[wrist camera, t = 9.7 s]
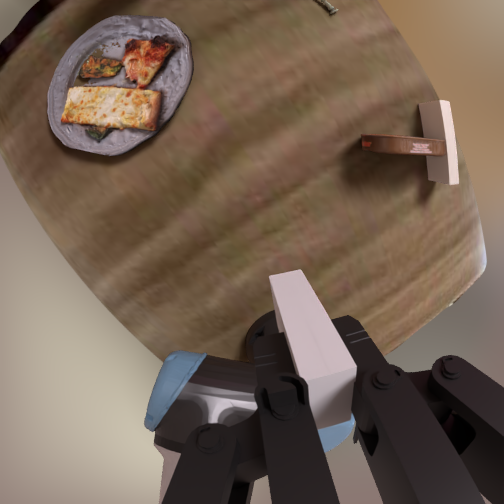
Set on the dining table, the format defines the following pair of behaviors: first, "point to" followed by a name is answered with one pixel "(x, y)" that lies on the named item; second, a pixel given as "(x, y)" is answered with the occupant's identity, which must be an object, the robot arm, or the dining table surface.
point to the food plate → (120, 84)
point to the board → (440, 127)
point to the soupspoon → (329, 6)
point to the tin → (403, 145)
